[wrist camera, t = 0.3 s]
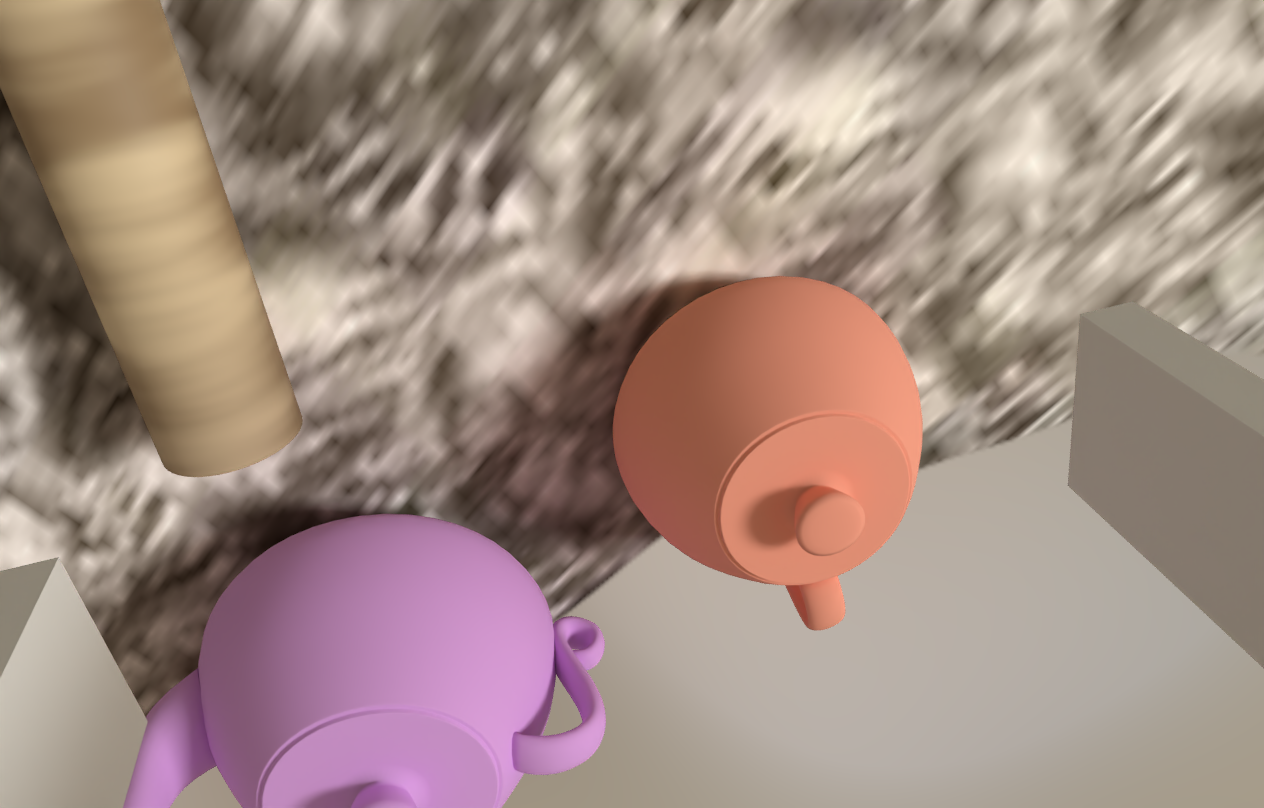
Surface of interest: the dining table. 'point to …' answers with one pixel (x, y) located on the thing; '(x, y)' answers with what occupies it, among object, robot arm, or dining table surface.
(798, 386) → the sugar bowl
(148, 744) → the teapot
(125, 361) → the baguette
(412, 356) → the dining table surface
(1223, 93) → the dining table surface
